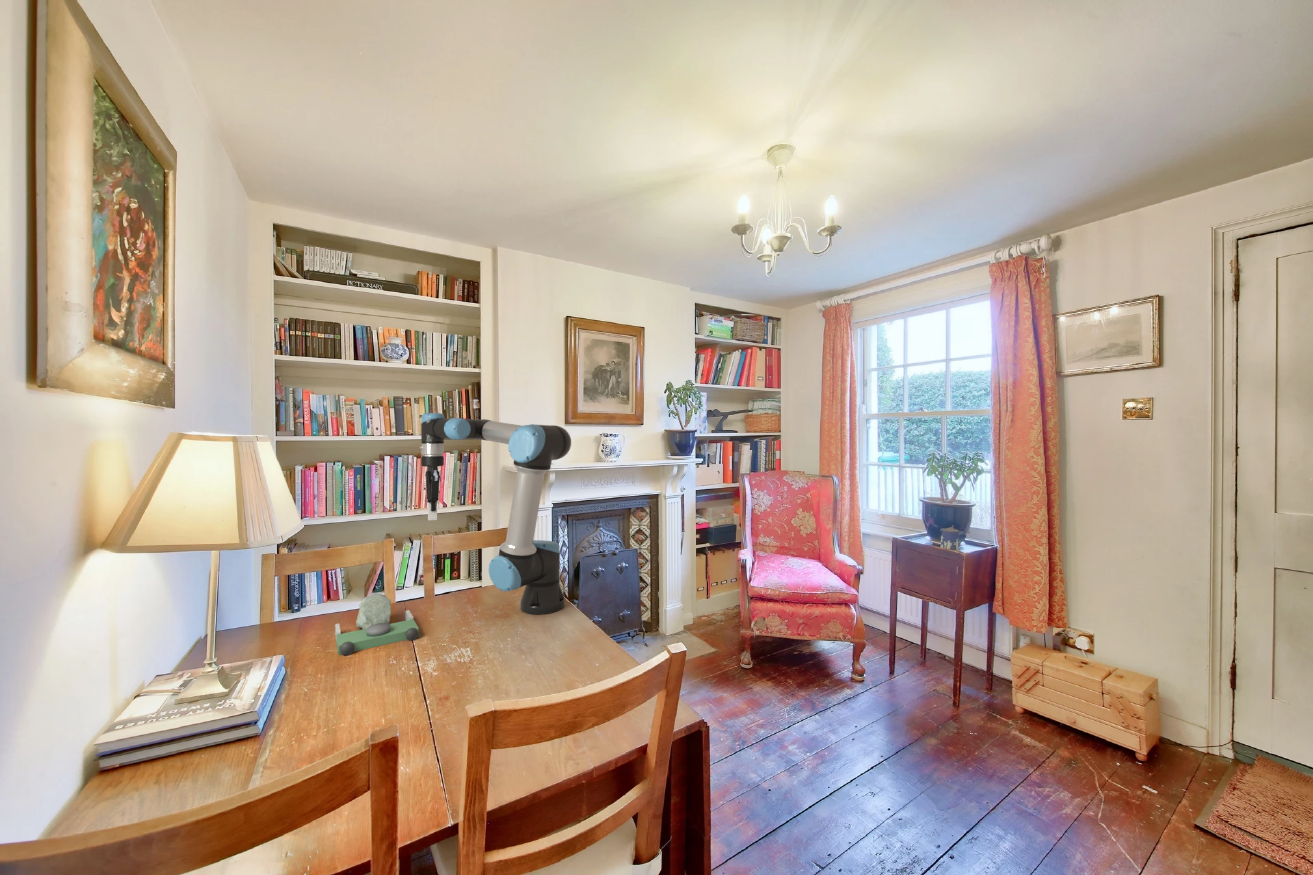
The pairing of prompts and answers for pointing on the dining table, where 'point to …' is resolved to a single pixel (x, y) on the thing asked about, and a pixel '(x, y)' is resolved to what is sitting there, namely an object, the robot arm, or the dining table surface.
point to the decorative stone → (374, 611)
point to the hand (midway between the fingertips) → (432, 519)
